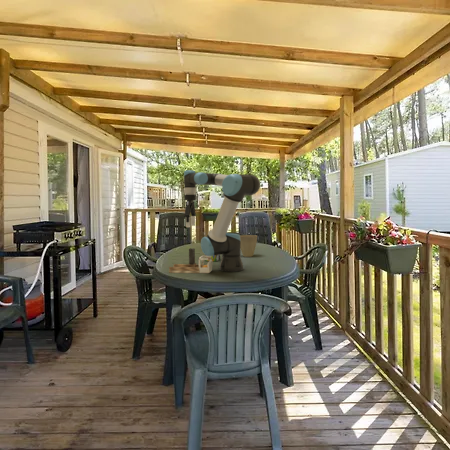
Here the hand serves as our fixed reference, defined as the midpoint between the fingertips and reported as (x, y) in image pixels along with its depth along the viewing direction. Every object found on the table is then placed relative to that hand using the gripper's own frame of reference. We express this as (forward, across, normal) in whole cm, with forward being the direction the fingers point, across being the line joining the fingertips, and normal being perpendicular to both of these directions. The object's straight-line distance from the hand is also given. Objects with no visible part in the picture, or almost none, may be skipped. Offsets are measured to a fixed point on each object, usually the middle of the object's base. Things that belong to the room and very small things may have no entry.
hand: (190, 226), depth 235 cm
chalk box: (+27, -24, +10) cm, 37 cm away
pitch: (+27, +15, 0) cm, 31 cm away
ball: (+25, +15, +13) cm, 32 cm away
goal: (+27, +15, +12) cm, 33 cm away
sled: (+25, +15, +4) cm, 30 cm away
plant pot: (+27, -45, +34) cm, 62 cm away
